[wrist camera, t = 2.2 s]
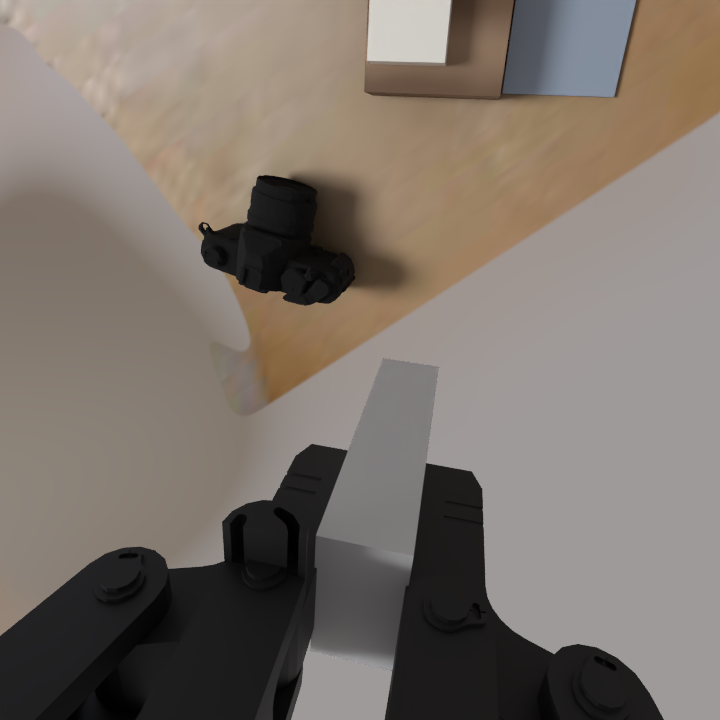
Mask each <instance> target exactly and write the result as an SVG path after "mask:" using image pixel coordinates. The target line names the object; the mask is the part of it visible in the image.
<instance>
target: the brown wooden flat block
mask: <svg viewBox="0 0 720 720" xmlns="http://www.w3.org/2000/svg"><path fill="white" fill-rule="evenodd" d="M369 1H370V0H368V17H367V40H366V64H365V88H364V92H366V93H368V94H371V95H378V96H405V97H432V98H459V99H487V100H498V99H499V97H500V93H501V87H502V80H503V73H504V66H505V59H506V52H507V45H508V38H509V31H510V24H511V17H512V10H513V3H514V0H453V1H452V11H451V21H450V31H449V41H448V51H447V61H446V66H423V65H385V64H371V63H369V62H368V61H367V48H368V25H369Z"/></svg>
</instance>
